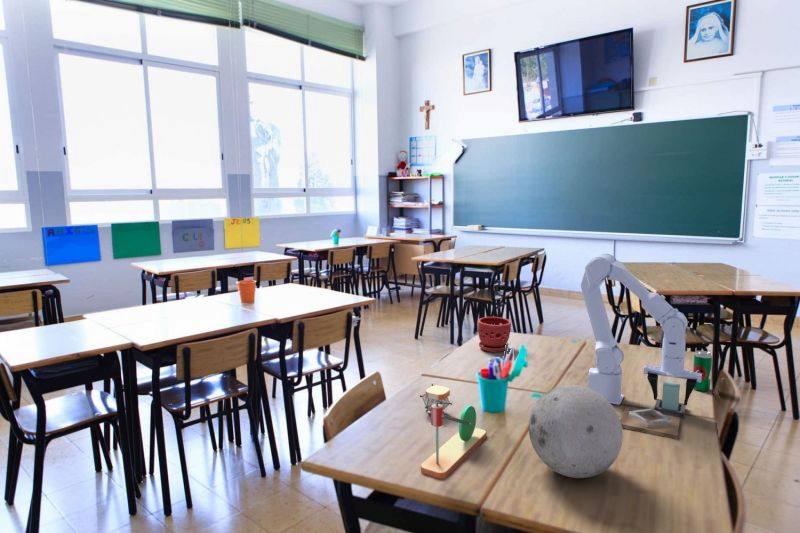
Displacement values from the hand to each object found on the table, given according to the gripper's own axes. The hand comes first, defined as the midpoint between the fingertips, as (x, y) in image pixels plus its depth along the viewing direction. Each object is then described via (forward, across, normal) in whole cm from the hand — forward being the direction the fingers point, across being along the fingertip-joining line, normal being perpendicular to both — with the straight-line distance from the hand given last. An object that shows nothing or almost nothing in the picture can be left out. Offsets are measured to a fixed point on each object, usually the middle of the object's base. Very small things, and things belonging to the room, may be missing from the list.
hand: (670, 401), depth 150 cm
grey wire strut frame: (+3, -58, -34) cm, 67 cm away
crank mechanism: (+3, -43, -52) cm, 68 cm away
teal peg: (+3, 0, 0) cm, 3 cm away
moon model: (+3, -16, -47) cm, 50 cm away
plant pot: (+3, -66, +32) cm, 73 cm away
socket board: (+3, -4, -12) cm, 13 cm away
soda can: (+3, +7, +23) cm, 24 cm away
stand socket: (+3, 0, 0) cm, 3 cm away
